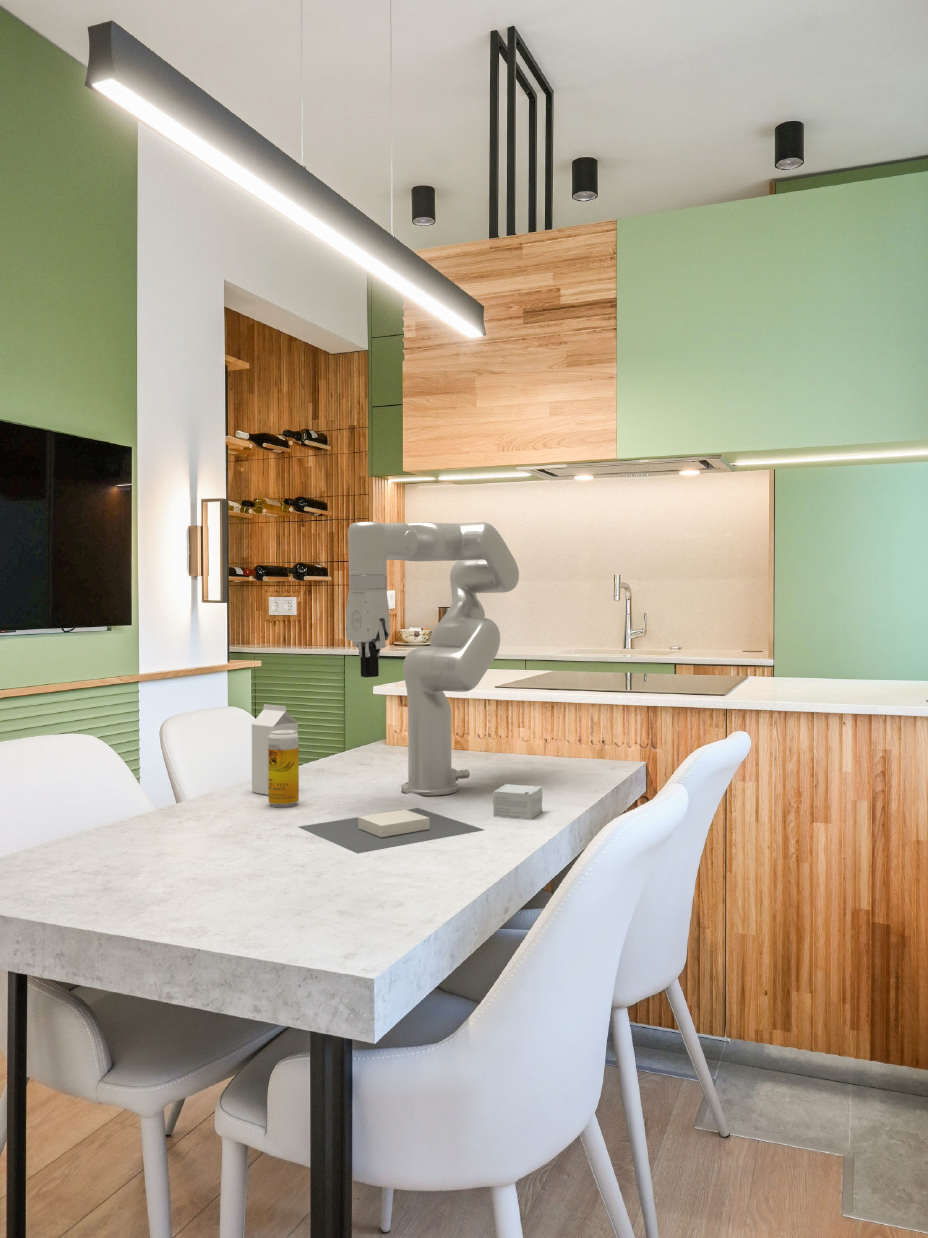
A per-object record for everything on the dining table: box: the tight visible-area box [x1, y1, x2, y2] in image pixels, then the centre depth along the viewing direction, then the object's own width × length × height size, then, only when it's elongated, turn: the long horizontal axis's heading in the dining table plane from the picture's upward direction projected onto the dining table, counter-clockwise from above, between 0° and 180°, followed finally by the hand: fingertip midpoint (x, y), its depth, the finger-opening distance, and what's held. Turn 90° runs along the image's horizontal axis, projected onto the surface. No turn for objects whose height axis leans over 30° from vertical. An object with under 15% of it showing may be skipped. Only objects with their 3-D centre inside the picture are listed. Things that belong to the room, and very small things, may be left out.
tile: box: [358, 809, 429, 837], centre depth 163 cm, size 10×2×8 cm
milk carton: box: [251, 703, 299, 795], centre depth 199 cm, size 7×7×19 cm
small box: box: [492, 783, 543, 820], centre depth 178 cm, size 8×8×5 cm
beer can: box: [267, 730, 300, 808], centre depth 186 cm, size 6×6×15 cm
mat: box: [298, 807, 485, 854], centre depth 164 cm, size 26×22×1 cm
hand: (369, 676), depth 181 cm, fingers closed
